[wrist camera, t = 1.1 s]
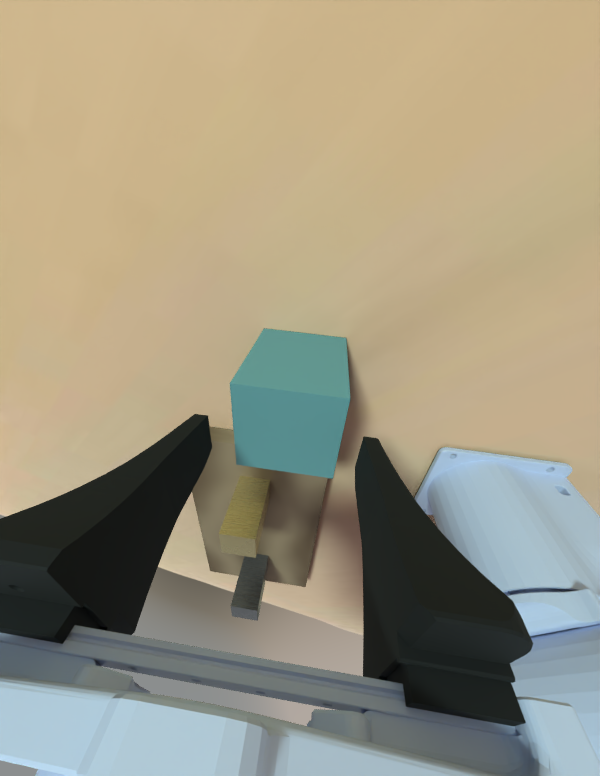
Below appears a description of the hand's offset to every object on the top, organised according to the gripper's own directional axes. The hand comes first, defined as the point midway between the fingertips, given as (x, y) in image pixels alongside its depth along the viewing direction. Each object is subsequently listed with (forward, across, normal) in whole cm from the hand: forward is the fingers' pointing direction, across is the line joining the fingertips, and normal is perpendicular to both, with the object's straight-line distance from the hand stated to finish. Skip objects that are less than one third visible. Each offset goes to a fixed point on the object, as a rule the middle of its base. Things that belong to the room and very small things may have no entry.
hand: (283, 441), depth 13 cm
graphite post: (+6, +3, +25) cm, 25 cm away
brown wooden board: (+7, +3, +18) cm, 20 cm away
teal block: (+7, 0, 0) cm, 7 cm away
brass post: (+5, +3, +11) cm, 13 cm away
